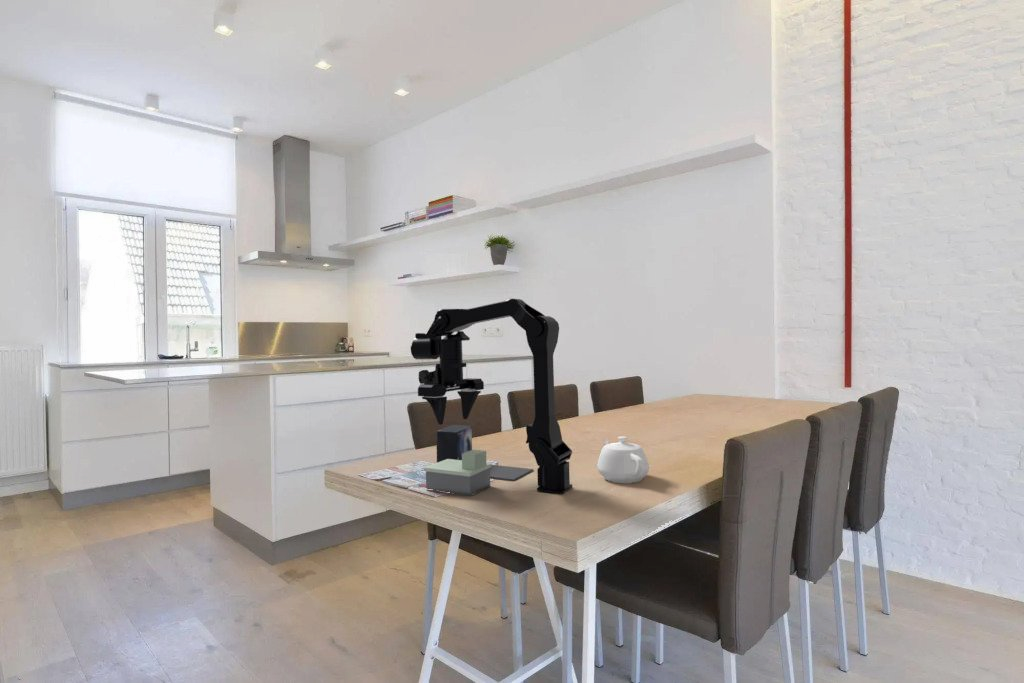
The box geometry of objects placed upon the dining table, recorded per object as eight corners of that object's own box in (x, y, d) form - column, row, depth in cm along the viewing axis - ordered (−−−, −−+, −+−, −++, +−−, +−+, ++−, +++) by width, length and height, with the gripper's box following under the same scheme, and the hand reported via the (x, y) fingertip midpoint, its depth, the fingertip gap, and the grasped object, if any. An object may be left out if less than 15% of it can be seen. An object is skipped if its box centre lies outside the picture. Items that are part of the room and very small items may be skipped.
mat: (533, 470, 148) (533, 469, 148) (513, 481, 138) (513, 479, 138) (487, 465, 155) (487, 464, 155) (465, 475, 145) (465, 473, 145)
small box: (458, 471, 149) (457, 431, 149) (435, 470, 151) (434, 430, 151) (473, 462, 159) (472, 424, 159) (452, 461, 161) (451, 424, 161)
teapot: (583, 470, 148) (582, 431, 147) (627, 466, 151) (626, 428, 150) (616, 491, 128) (615, 446, 128) (665, 486, 131) (665, 442, 131)
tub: (490, 485, 135) (490, 467, 134) (470, 496, 127) (469, 476, 127) (448, 480, 140) (447, 462, 140) (426, 490, 132) (425, 470, 132)
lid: (491, 468, 135) (491, 448, 134) (470, 478, 126) (469, 457, 126) (447, 463, 141) (447, 444, 140) (424, 472, 132) (423, 452, 132)
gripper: (452, 357, 154) (454, 414, 155) (400, 361, 139) (403, 425, 140) (484, 357, 148) (486, 417, 148) (433, 361, 133) (436, 428, 133)
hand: (453, 421), depth 142 cm, fingers open, 9 cm apart
